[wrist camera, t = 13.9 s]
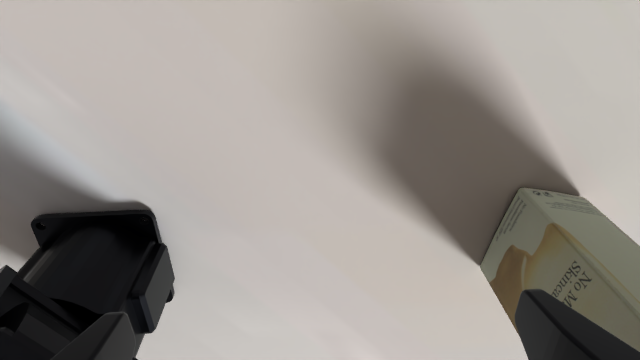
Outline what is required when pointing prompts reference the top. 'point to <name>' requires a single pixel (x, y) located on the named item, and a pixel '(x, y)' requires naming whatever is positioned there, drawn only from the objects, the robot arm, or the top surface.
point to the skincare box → (567, 260)
